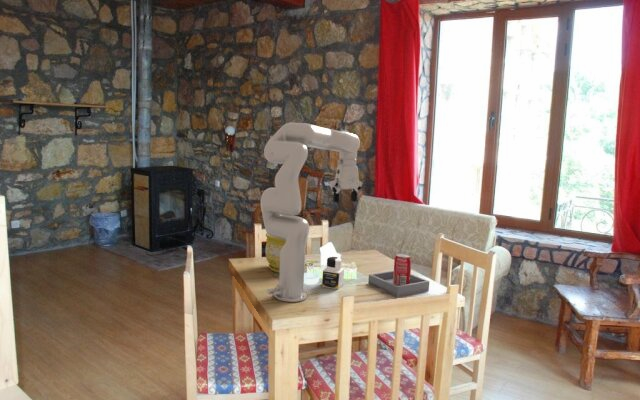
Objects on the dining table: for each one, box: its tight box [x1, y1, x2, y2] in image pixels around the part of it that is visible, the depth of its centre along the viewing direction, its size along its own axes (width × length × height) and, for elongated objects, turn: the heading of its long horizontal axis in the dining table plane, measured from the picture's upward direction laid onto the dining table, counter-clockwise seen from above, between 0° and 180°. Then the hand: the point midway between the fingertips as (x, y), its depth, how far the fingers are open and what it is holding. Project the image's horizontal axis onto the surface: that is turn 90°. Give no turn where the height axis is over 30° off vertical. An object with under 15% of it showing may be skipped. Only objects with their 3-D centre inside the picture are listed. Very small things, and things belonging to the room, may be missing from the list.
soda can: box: [393, 252, 413, 286], centre depth 217 cm, size 7×7×13 cm
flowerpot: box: [264, 232, 286, 274], centre depth 232 cm, size 18×18×16 cm
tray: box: [367, 270, 430, 298], centre depth 218 cm, size 18×18×4 cm
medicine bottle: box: [321, 256, 345, 290], centre depth 214 cm, size 7×7×12 cm
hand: (345, 201), depth 225 cm, fingers open, 9 cm apart
